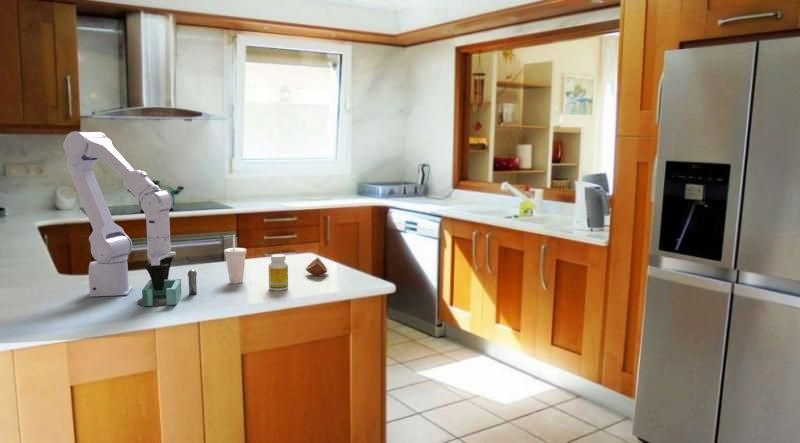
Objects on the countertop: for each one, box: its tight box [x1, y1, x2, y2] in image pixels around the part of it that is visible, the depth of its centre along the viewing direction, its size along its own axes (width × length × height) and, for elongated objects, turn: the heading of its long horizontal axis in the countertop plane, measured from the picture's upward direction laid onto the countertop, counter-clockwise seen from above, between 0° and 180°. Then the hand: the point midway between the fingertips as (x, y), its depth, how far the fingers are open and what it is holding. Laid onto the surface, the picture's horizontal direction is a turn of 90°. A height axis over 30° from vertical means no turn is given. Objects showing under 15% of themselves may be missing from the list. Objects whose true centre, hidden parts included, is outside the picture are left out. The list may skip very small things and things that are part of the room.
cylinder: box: [187, 269, 198, 296], centre depth 172 cm, size 2×2×7 cm
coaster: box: [137, 295, 168, 307], centre depth 165 cm, size 10×10×1 cm
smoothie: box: [223, 234, 247, 284], centre depth 185 cm, size 6×6×14 cm
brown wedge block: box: [305, 257, 328, 276], centre depth 196 cm, size 8×7×5 cm
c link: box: [141, 278, 182, 307], centre depth 165 cm, size 8×11×4 cm
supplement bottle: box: [268, 253, 289, 292], centre depth 178 cm, size 5×5×10 cm
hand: (160, 286), depth 169 cm, fingers open, 7 cm apart
